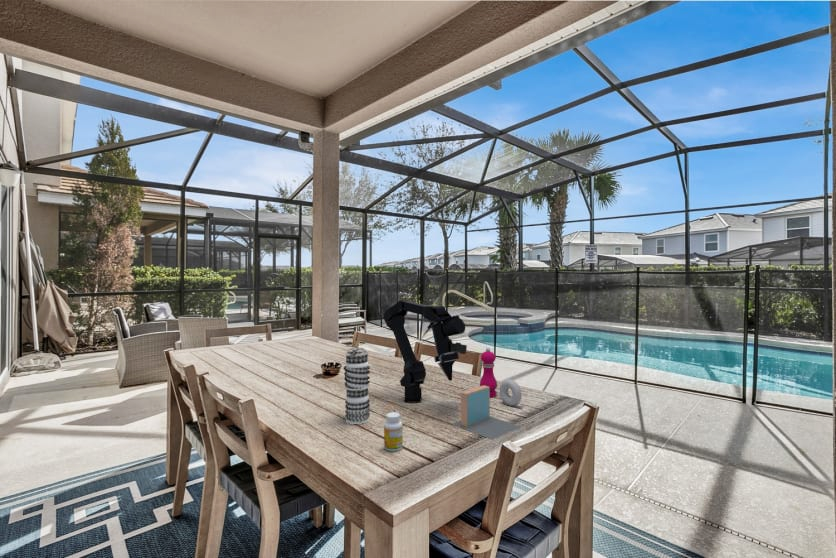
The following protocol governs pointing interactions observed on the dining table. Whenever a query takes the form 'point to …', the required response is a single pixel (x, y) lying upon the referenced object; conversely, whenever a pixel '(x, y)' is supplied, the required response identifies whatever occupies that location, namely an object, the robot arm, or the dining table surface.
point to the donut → (515, 391)
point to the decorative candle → (357, 386)
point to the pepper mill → (488, 372)
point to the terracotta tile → (475, 405)
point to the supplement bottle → (393, 432)
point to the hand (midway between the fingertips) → (450, 380)
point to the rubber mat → (490, 427)
